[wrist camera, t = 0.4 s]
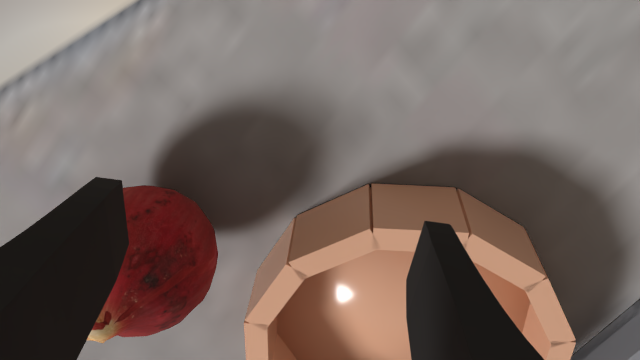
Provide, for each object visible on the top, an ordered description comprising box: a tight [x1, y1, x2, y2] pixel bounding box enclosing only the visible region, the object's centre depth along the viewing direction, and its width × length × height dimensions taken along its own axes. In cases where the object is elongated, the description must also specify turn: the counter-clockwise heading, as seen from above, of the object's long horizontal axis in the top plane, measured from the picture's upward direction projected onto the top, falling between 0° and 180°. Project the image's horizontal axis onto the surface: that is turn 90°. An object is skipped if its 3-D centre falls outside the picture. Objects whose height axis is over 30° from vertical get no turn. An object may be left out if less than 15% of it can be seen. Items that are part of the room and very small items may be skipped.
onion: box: [87, 186, 218, 343], centre depth 22 cm, size 6×6×8 cm
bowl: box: [244, 183, 576, 360], centre depth 26 cm, size 14×14×4 cm
